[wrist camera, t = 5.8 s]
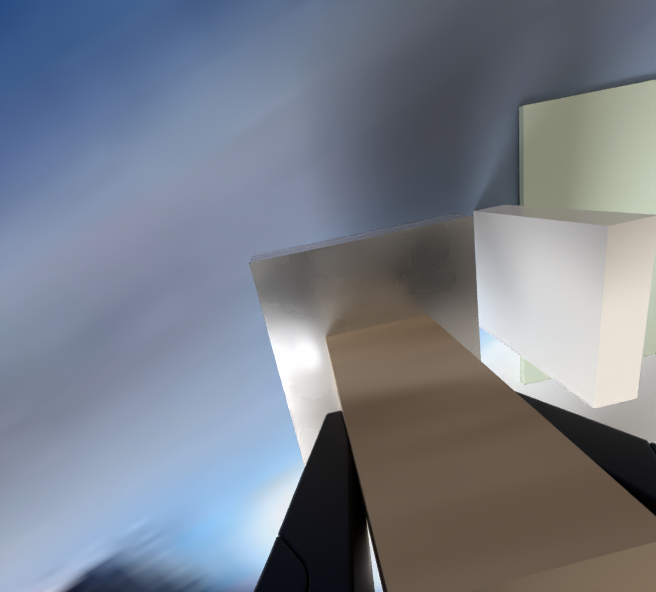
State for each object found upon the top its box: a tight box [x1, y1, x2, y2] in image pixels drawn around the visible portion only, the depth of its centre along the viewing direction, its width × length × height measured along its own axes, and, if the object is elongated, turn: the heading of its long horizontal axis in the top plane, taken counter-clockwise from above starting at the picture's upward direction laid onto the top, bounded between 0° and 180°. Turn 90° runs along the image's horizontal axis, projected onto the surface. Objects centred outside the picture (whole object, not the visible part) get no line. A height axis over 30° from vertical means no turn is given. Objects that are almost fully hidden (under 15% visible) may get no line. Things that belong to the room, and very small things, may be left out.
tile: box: [473, 205, 656, 409], centre depth 13 cm, size 6×2×7 cm, turn 11°
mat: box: [519, 80, 656, 385], centre depth 17 cm, size 14×10×1 cm
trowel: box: [249, 213, 656, 592], centre depth 7 cm, size 8×6×8 cm
